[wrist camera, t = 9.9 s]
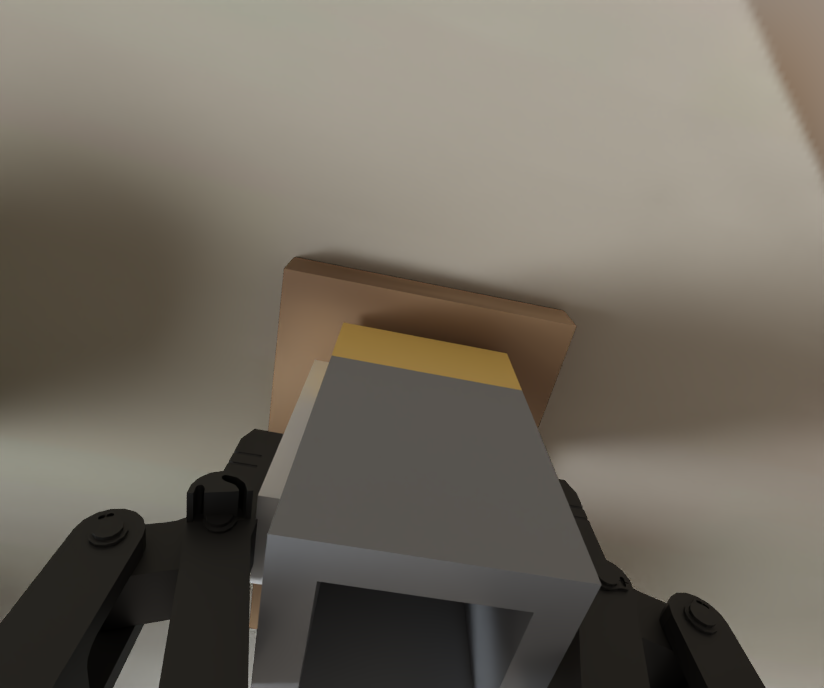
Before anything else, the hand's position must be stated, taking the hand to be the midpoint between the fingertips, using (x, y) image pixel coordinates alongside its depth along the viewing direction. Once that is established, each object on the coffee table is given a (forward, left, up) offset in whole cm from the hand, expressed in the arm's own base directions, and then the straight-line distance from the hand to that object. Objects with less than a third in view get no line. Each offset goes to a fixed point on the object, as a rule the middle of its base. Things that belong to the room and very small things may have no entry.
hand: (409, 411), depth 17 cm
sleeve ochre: (0, 0, 0) cm, 0 cm away
